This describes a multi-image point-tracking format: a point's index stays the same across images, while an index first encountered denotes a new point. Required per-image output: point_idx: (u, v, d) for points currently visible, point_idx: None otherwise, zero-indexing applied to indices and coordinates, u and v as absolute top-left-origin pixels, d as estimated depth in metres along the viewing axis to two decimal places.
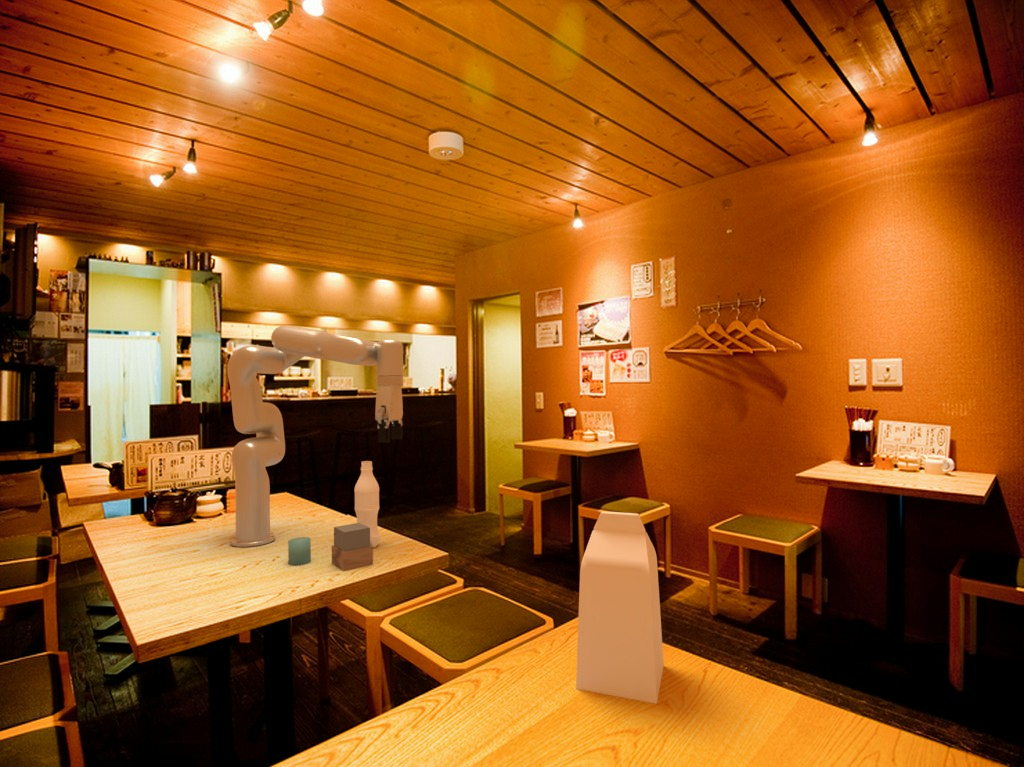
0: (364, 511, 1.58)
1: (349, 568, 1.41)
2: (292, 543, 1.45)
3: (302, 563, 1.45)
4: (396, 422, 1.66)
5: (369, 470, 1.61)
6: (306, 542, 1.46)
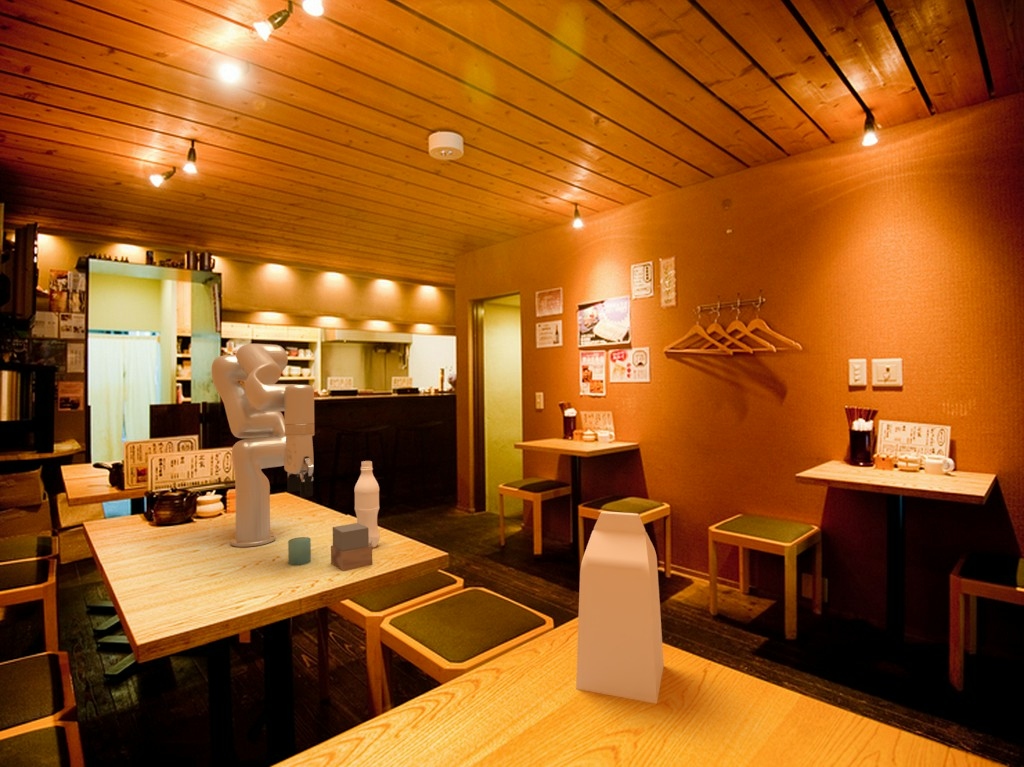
0: (364, 511, 1.58)
1: (348, 568, 1.41)
2: (292, 543, 1.45)
3: (302, 563, 1.45)
4: None
5: (369, 470, 1.61)
6: (306, 542, 1.46)
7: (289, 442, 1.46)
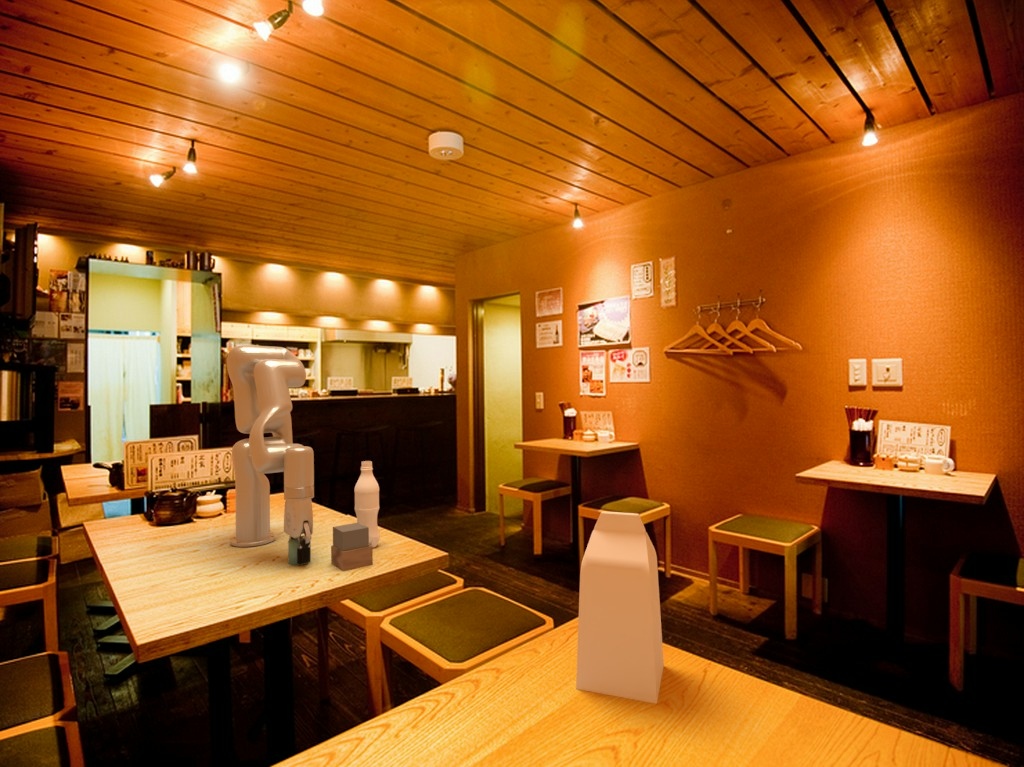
0: (364, 511, 1.58)
1: (349, 568, 1.41)
2: (292, 543, 1.45)
3: (302, 563, 1.45)
4: None
5: (369, 470, 1.61)
6: None
7: (288, 505, 1.46)
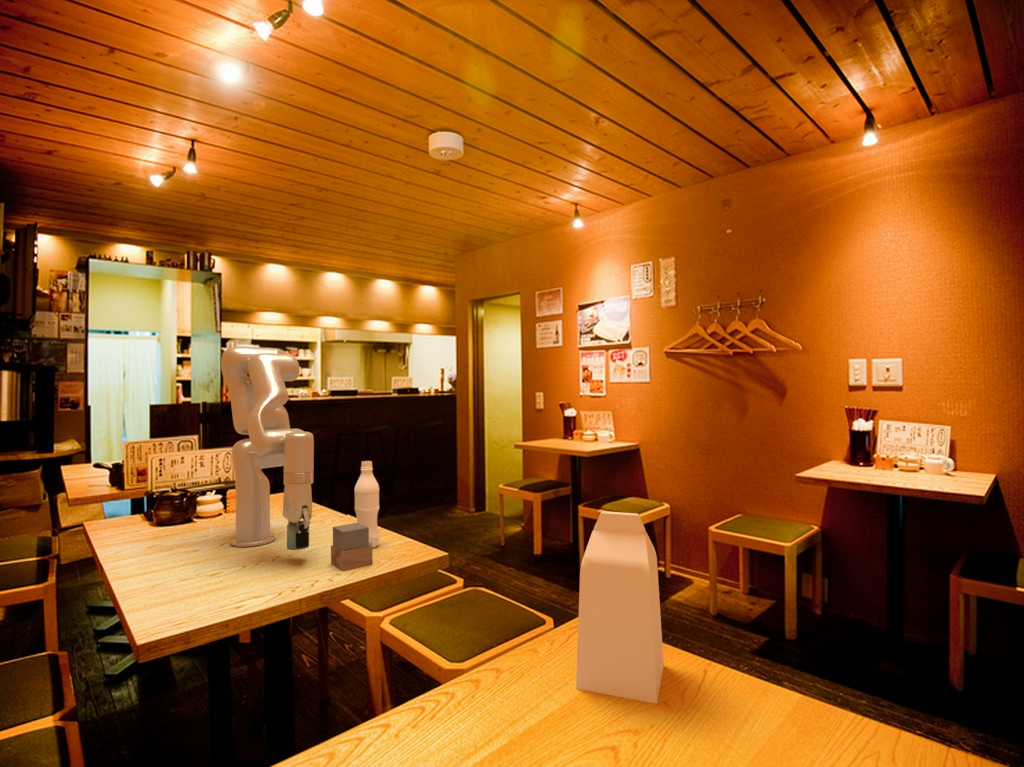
0: (364, 511, 1.58)
1: (348, 568, 1.41)
2: (291, 528, 1.46)
3: (300, 548, 1.46)
4: None
5: (369, 470, 1.61)
6: None
7: (287, 490, 1.46)
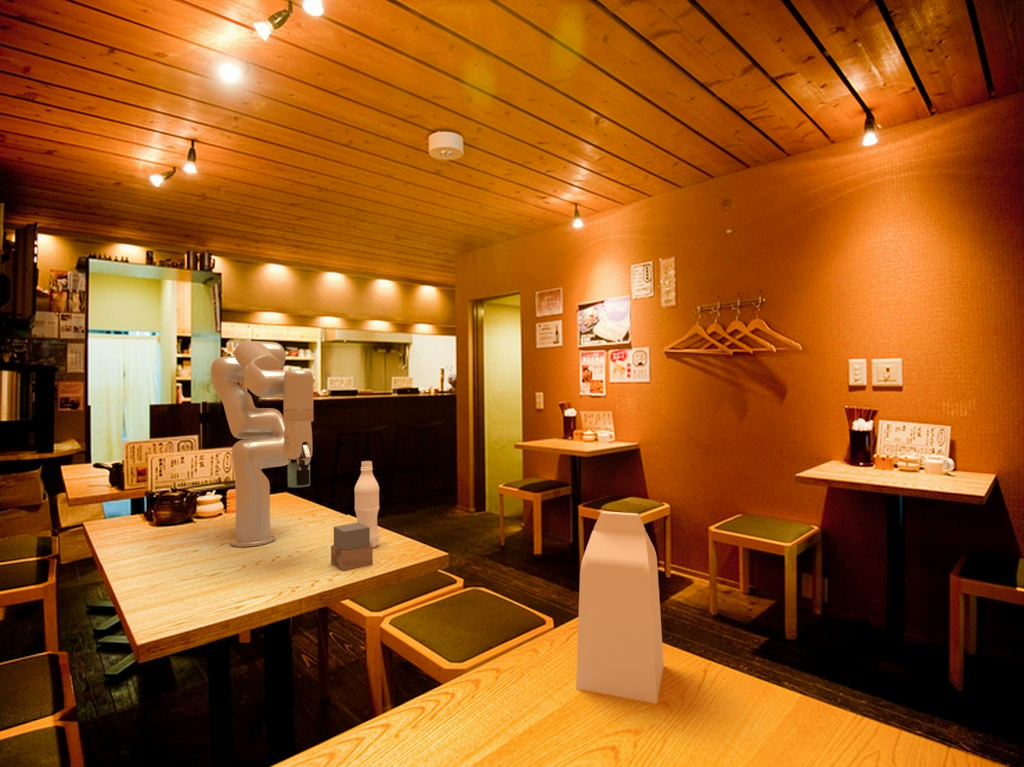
0: (364, 511, 1.58)
1: (349, 568, 1.41)
2: (291, 465, 1.45)
3: (301, 485, 1.46)
4: None
5: (369, 470, 1.61)
6: None
7: (288, 428, 1.46)
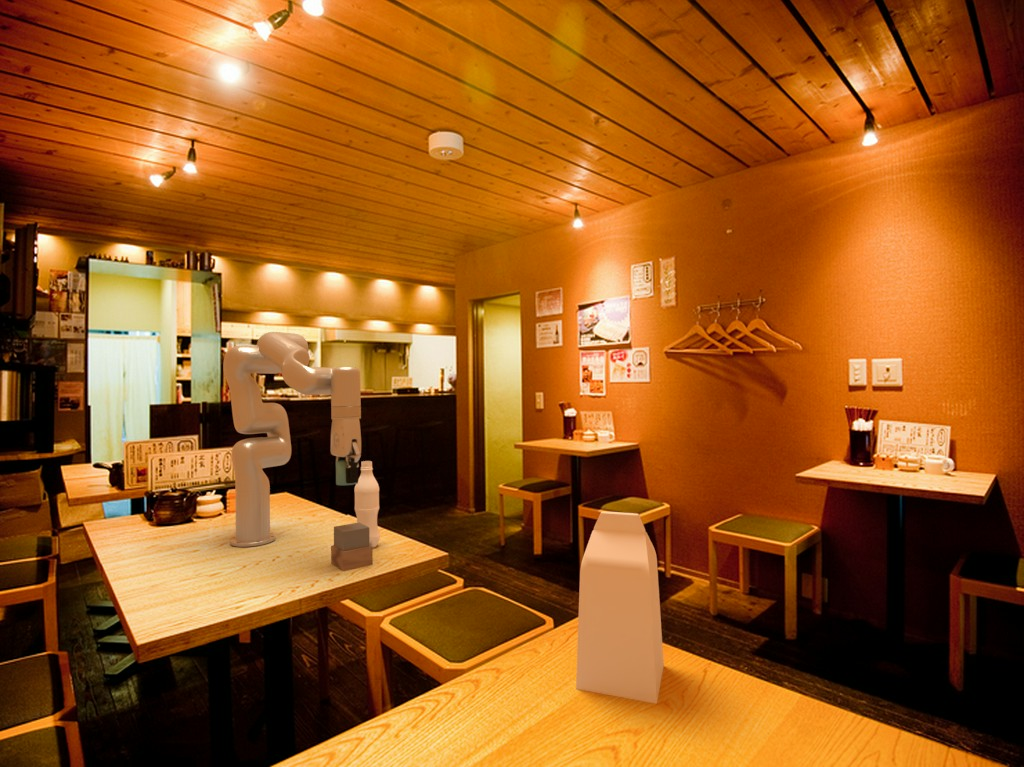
0: (364, 511, 1.58)
1: (349, 568, 1.41)
2: (340, 463, 1.43)
3: (350, 483, 1.43)
4: None
5: (369, 470, 1.61)
6: None
7: (336, 425, 1.44)
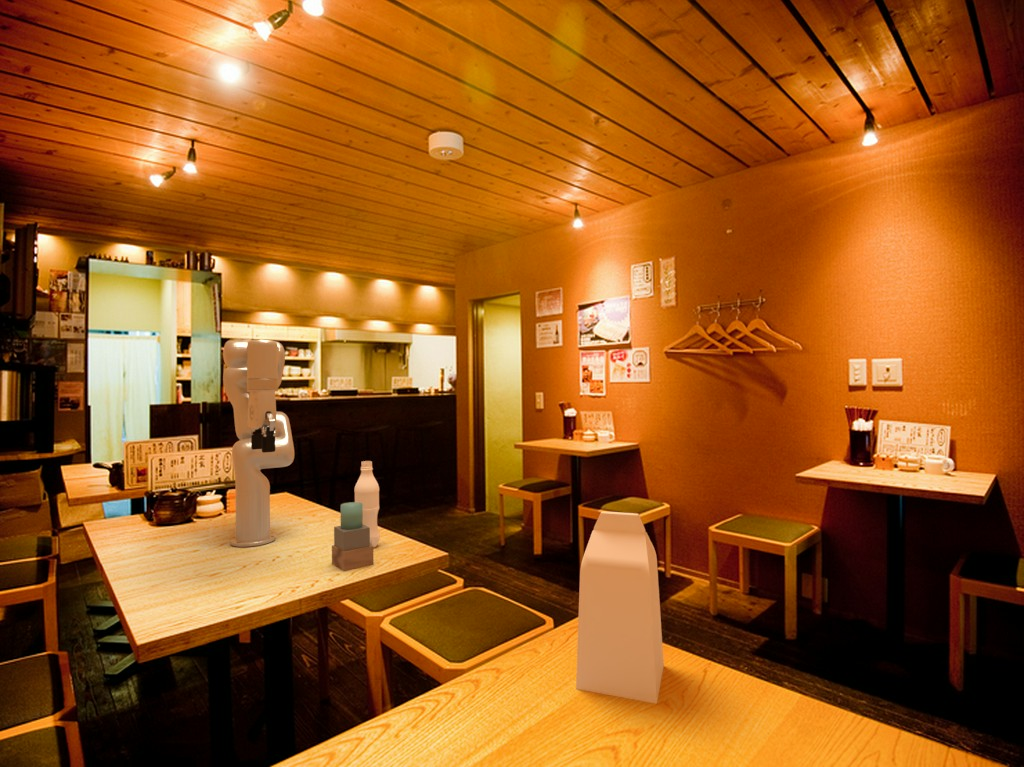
0: (364, 511, 1.58)
1: (350, 568, 1.41)
2: (345, 507, 1.43)
3: (355, 527, 1.43)
4: (256, 430, 1.50)
5: (369, 471, 1.61)
6: (359, 506, 1.44)
7: (251, 397, 1.44)
